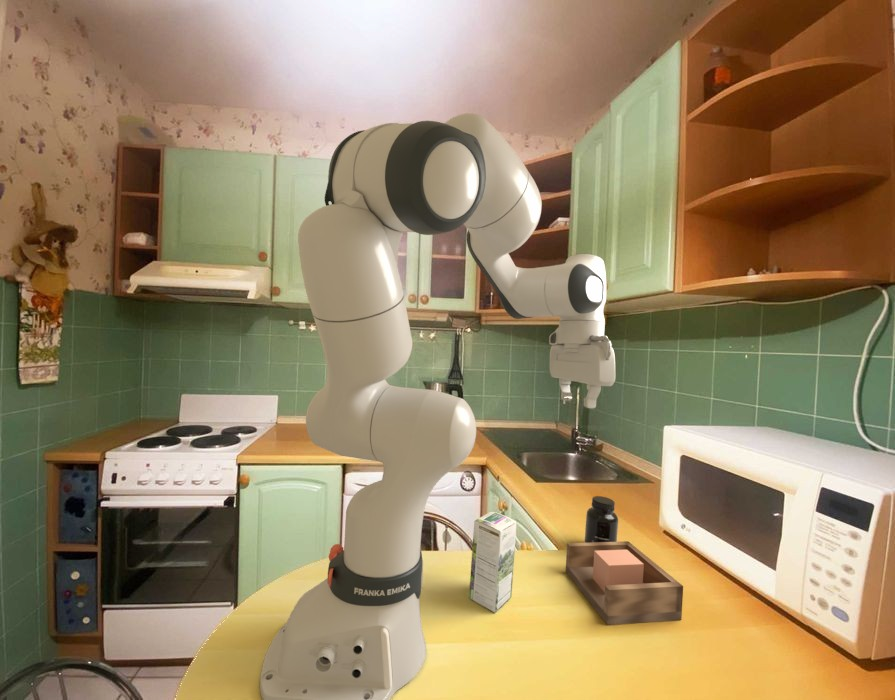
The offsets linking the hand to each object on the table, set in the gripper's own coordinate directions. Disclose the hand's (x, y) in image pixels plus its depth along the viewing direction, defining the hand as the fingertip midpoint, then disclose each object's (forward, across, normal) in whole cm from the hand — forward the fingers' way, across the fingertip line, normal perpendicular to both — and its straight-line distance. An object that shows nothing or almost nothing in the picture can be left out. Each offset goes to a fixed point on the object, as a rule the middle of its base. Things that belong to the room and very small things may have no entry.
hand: (577, 403), depth 76 cm
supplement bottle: (+35, +8, -12) cm, 38 cm away
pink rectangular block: (+34, -6, -6) cm, 35 cm away
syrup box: (+35, -6, +18) cm, 40 cm away
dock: (+35, -6, -7) cm, 36 cm away
